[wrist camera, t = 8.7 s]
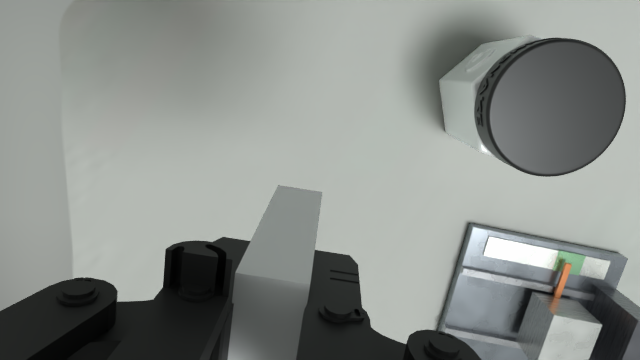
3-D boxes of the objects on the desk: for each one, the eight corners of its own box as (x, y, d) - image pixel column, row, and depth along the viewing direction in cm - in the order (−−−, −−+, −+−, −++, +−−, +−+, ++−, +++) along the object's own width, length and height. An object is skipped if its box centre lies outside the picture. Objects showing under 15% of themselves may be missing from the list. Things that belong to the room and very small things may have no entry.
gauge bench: (469, 222, 41) (497, 254, 34) (619, 253, 41) (678, 290, 34) (429, 356, 44) (448, 410, 37) (568, 383, 44) (613, 442, 37)
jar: (503, 22, 37) (582, 0, 25) (560, 99, 38) (661, 112, 26) (415, 95, 38) (452, 107, 27) (473, 167, 40) (532, 208, 28)
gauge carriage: (544, 257, 39) (567, 278, 35) (588, 266, 39) (617, 287, 36) (515, 340, 41) (534, 368, 37) (558, 348, 41) (581, 377, 37)
